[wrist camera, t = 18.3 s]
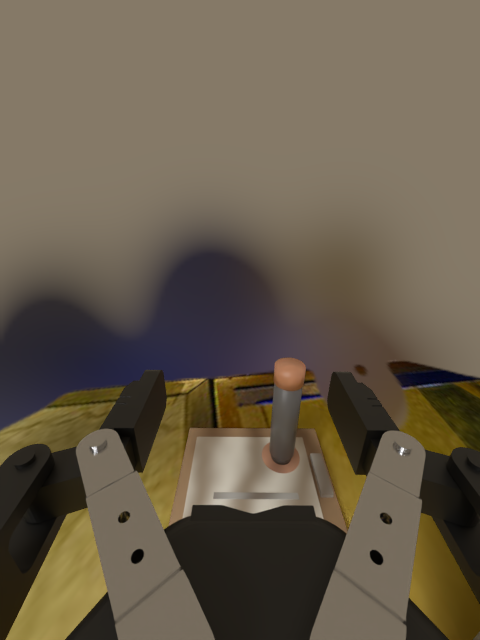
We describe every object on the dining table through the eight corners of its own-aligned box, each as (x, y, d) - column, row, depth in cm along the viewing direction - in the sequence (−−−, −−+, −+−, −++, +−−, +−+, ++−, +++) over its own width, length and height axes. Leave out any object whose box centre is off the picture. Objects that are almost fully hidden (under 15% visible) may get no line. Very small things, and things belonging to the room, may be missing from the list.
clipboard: (164, 550, 30) (163, 542, 30) (190, 431, 46) (189, 424, 45) (351, 551, 31) (354, 543, 30) (313, 432, 46) (315, 425, 45)
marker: (269, 467, 39) (276, 374, 32) (267, 445, 42) (273, 357, 36) (296, 467, 39) (308, 374, 32) (291, 445, 42) (302, 357, 36)
